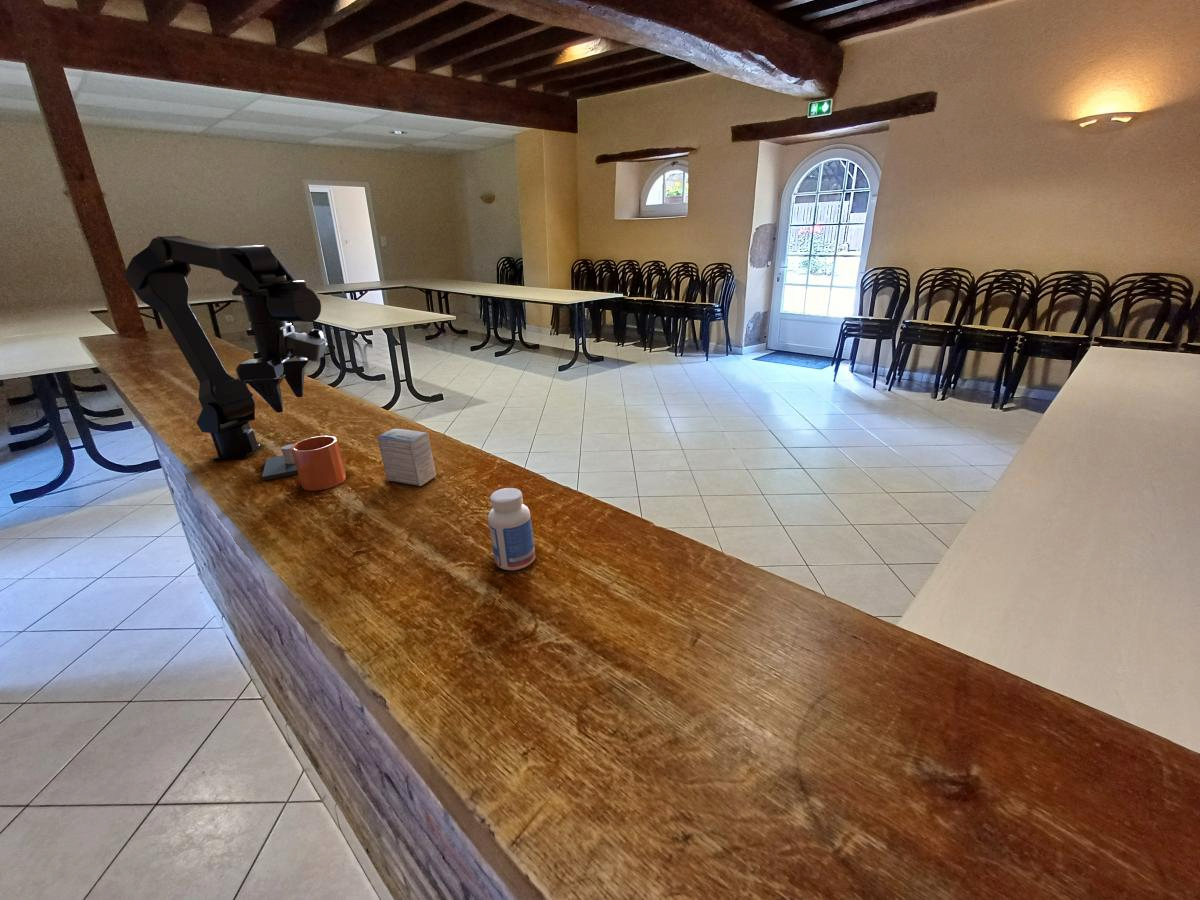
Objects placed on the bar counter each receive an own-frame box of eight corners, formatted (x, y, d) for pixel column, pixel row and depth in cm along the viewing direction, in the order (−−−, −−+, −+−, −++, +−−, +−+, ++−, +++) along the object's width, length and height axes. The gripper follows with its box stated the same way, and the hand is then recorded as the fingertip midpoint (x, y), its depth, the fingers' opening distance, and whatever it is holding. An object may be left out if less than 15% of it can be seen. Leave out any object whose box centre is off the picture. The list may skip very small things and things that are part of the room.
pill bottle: (542, 551, 75) (535, 487, 71) (524, 574, 70) (516, 507, 67) (506, 546, 77) (498, 483, 73) (487, 567, 72) (476, 502, 68)
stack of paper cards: (437, 477, 99) (429, 432, 96) (420, 487, 96) (411, 441, 92) (403, 471, 103) (394, 427, 99) (386, 481, 99) (376, 436, 95)
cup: (295, 492, 96) (283, 453, 93) (311, 474, 103) (301, 437, 100) (338, 488, 97) (327, 449, 94) (351, 471, 103) (342, 434, 101)
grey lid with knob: (262, 480, 101) (256, 461, 100) (267, 462, 110) (261, 443, 108) (322, 469, 105) (317, 449, 104) (322, 451, 114) (317, 433, 112)
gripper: (293, 327, 90) (316, 417, 96) (332, 310, 107) (349, 387, 114) (222, 331, 89) (249, 422, 96) (272, 313, 107) (293, 391, 113)
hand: (290, 404), depth 104 cm, fingers open, 9 cm apart
